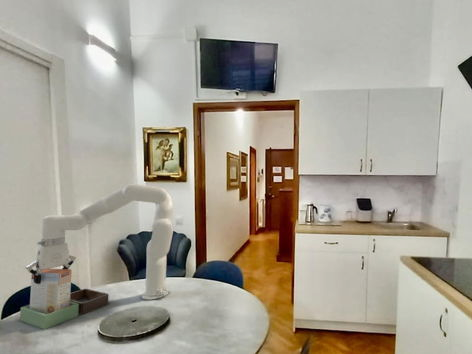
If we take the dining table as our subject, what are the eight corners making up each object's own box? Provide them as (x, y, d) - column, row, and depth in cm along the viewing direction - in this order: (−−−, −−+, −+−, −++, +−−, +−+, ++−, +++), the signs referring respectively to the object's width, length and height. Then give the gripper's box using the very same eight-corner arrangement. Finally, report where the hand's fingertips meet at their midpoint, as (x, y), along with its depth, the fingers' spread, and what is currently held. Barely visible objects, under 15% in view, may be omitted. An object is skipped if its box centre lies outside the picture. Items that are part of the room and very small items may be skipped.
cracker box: (70, 314, 116) (72, 268, 117) (55, 321, 110) (58, 273, 111) (43, 312, 118) (46, 267, 118) (28, 319, 112) (30, 271, 112)
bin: (78, 316, 116) (78, 303, 116) (44, 329, 105) (45, 315, 105) (53, 308, 123) (54, 296, 123) (19, 320, 112) (20, 307, 112)
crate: (109, 303, 128) (109, 293, 128) (81, 314, 117) (82, 303, 117) (85, 297, 135) (85, 288, 135) (57, 307, 124) (58, 297, 124)
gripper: (31, 246, 106) (29, 288, 105) (81, 239, 122) (79, 274, 121) (22, 245, 108) (20, 285, 108) (71, 237, 125) (70, 272, 124)
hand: (51, 279), depth 115 cm, fingers open, 8 cm apart
